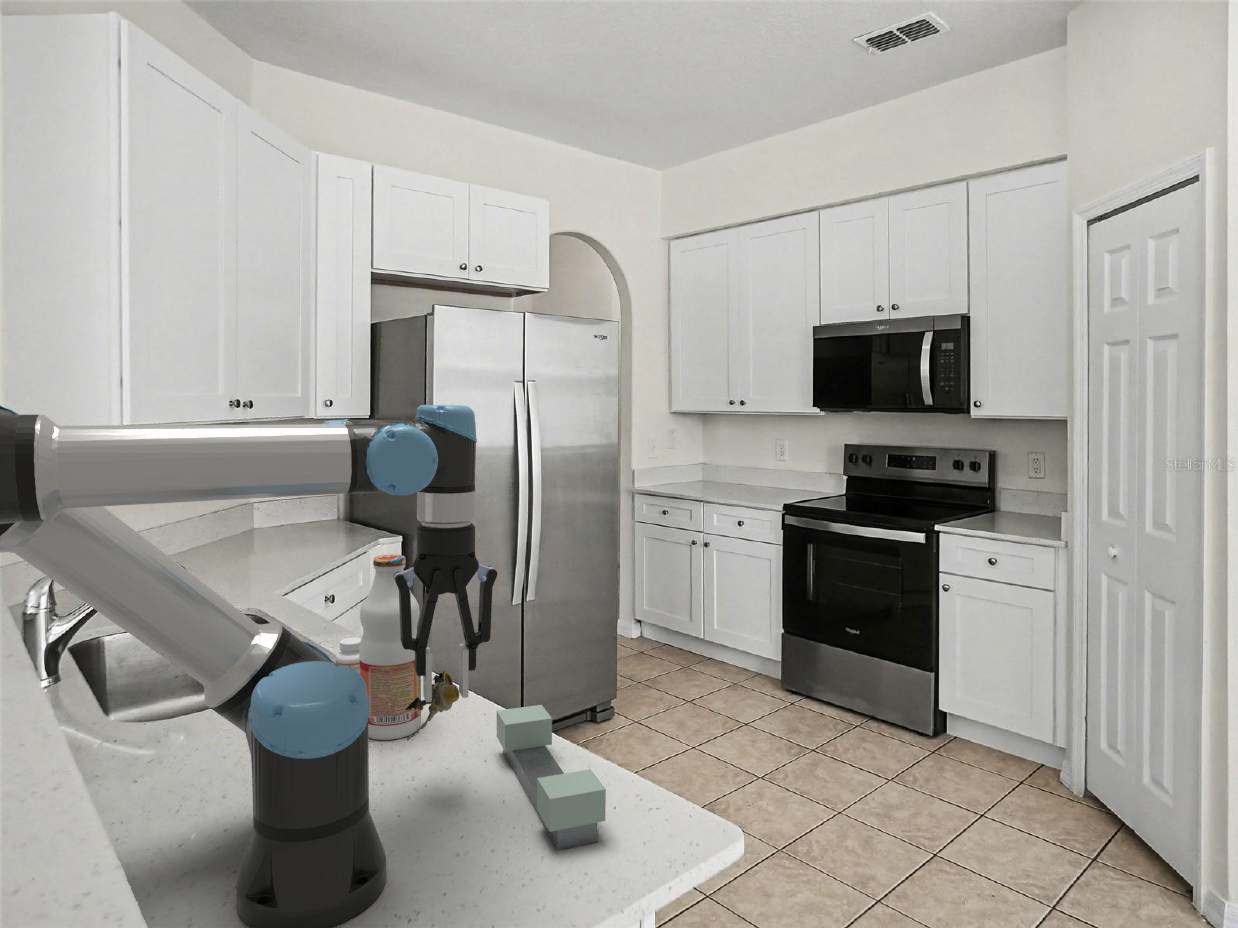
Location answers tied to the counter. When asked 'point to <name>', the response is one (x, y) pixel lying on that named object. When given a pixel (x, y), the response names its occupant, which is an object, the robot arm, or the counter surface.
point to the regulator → (437, 698)
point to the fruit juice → (388, 656)
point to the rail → (527, 770)
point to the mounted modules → (557, 795)
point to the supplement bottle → (349, 653)
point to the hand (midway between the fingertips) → (445, 695)
